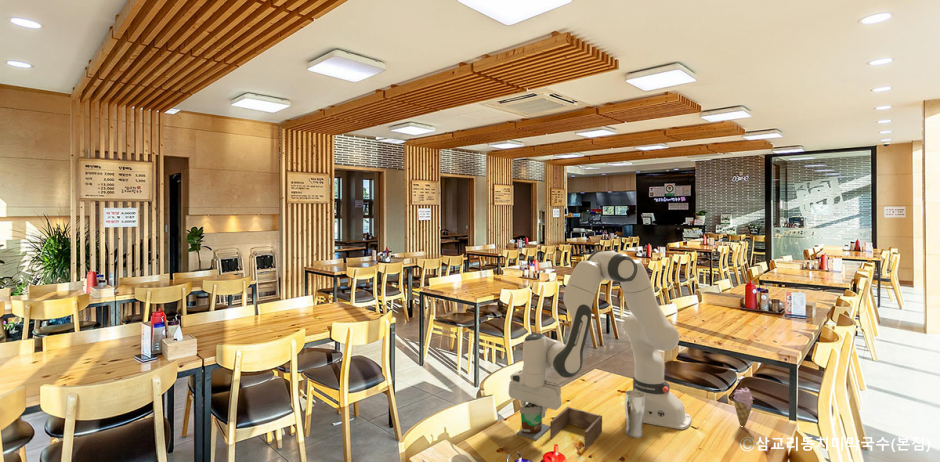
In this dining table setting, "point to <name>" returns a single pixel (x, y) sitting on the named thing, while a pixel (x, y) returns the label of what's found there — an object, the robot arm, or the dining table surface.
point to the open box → (578, 423)
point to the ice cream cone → (743, 404)
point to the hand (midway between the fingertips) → (534, 414)
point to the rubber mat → (536, 435)
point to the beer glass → (634, 413)
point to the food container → (531, 418)
